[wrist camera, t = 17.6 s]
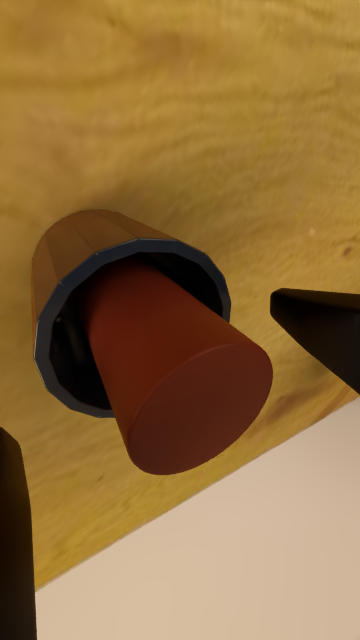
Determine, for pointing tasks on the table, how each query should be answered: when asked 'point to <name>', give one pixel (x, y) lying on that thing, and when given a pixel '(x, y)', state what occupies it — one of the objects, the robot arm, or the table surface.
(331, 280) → the table surface
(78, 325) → the can
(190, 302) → the dowel
